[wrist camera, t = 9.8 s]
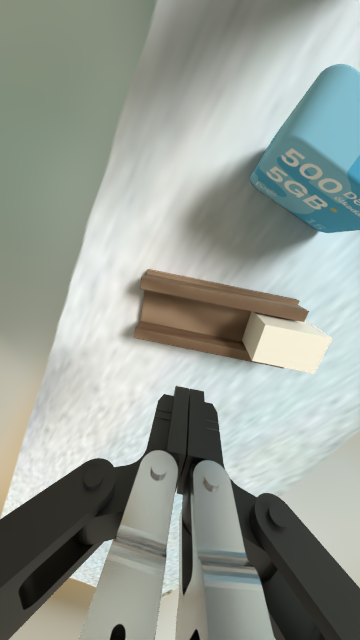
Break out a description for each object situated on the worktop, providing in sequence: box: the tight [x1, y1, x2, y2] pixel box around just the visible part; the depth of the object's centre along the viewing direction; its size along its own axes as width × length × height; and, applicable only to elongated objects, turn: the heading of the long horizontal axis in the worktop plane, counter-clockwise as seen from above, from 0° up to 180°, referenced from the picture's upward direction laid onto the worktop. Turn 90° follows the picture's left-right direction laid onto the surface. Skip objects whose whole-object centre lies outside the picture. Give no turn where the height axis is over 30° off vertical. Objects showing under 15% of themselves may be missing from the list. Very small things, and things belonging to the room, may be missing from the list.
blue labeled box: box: [250, 64, 360, 233], centre depth 19 cm, size 12×4×12 cm, turn 60°
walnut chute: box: [134, 269, 309, 368], centre depth 29 cm, size 10×22×4 cm, turn 79°
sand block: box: [242, 311, 333, 374], centre depth 27 cm, size 5×8×6 cm, turn 79°
